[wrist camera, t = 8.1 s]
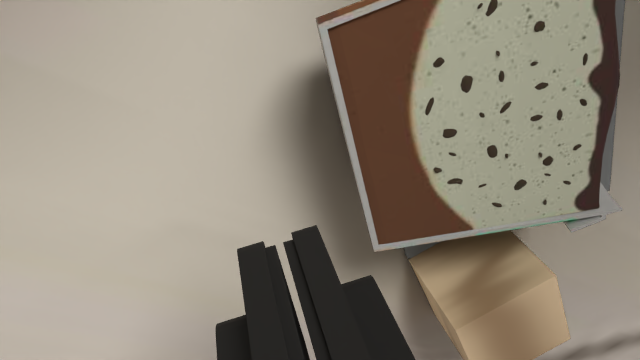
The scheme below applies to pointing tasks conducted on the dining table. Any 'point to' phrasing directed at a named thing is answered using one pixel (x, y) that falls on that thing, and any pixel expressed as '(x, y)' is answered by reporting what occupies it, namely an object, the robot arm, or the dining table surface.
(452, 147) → the food container
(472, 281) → the oak block
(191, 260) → the dining table surface
